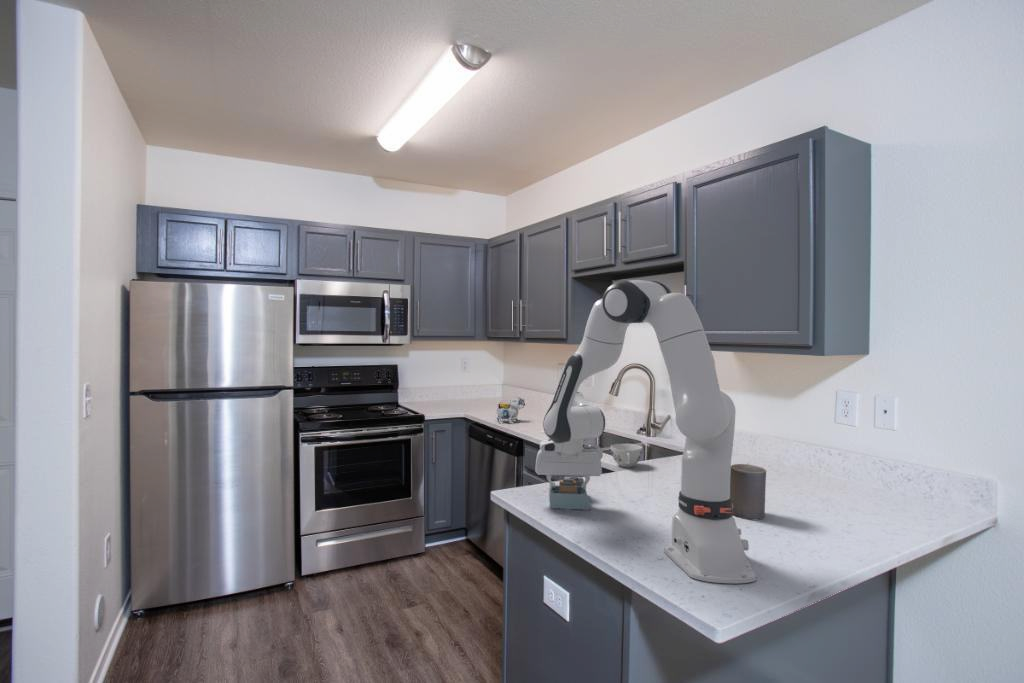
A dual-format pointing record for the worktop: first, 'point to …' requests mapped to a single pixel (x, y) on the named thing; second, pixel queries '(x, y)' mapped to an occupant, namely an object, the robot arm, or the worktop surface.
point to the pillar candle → (748, 491)
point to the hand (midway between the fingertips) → (567, 489)
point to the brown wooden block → (567, 486)
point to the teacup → (626, 454)
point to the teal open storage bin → (569, 497)
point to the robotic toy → (510, 410)
